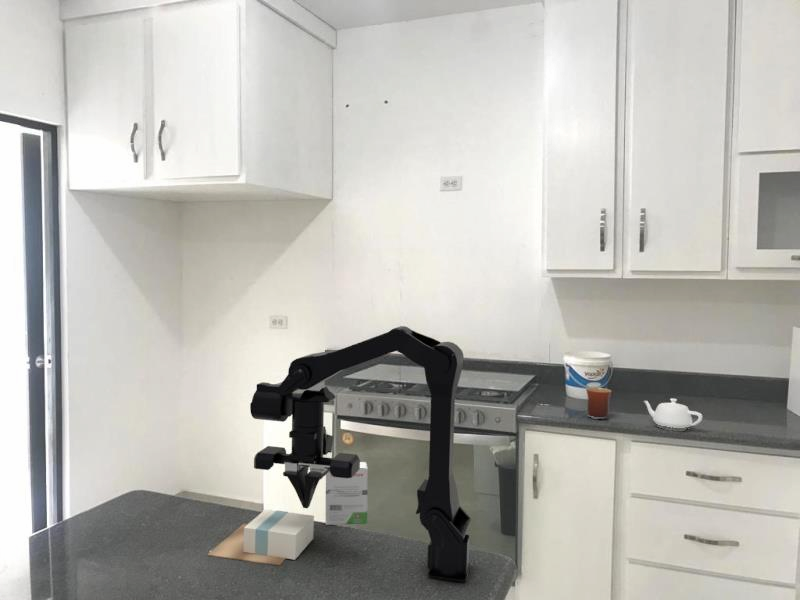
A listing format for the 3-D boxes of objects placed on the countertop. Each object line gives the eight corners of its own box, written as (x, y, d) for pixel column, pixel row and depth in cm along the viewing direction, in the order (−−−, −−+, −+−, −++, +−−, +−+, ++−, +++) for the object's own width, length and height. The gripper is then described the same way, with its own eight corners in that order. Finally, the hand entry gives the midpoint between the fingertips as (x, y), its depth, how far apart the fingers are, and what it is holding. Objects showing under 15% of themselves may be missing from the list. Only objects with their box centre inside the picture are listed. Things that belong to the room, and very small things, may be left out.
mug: (614, 421, 222) (615, 392, 222) (590, 421, 222) (592, 392, 221) (600, 413, 234) (601, 385, 234) (577, 413, 233) (578, 385, 233)
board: (309, 533, 123) (309, 532, 123) (279, 565, 110) (279, 564, 110) (243, 524, 126) (243, 523, 126) (207, 555, 113) (207, 554, 113)
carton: (314, 515, 120) (265, 508, 123) (295, 534, 111) (243, 527, 114) (313, 538, 121) (265, 531, 123) (294, 560, 112) (243, 552, 114)
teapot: (634, 425, 218) (635, 396, 217) (649, 419, 226) (651, 391, 226) (693, 437, 203) (695, 406, 203) (708, 431, 212) (709, 401, 211)
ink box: (366, 515, 133) (367, 460, 132) (367, 525, 128) (368, 468, 127) (325, 515, 132) (326, 460, 131) (324, 525, 127) (325, 468, 127)
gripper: (368, 417, 121) (367, 497, 121) (278, 410, 125) (277, 487, 126) (351, 432, 110) (349, 519, 111) (253, 423, 114) (252, 508, 115)
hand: (306, 507), depth 116 cm, fingers closed
